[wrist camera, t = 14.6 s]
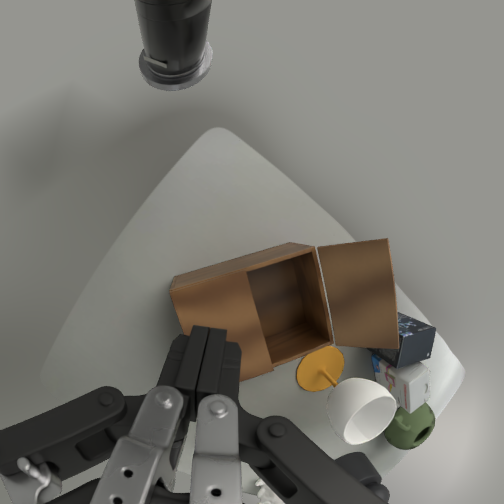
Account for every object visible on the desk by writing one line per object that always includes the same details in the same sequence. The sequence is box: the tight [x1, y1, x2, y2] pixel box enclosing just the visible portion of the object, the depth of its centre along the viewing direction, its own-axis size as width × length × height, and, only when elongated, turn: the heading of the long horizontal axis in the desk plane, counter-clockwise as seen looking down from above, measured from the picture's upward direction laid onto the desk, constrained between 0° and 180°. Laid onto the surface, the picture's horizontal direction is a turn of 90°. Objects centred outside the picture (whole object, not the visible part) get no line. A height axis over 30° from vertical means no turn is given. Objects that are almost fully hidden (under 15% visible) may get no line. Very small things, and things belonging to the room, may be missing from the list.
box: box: [367, 312, 436, 369], centre depth 40 cm, size 8×6×11 cm
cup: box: [296, 346, 397, 445], centre depth 35 cm, size 9×9×16 cm
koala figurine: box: [255, 478, 285, 504], centre depth 38 cm, size 8×7×12 cm
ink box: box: [371, 354, 430, 414], centre depth 41 cm, size 9×5×12 cm, turn 23°
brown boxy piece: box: [169, 242, 334, 382], centre depth 35 cm, size 13×17×9 cm
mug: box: [385, 402, 435, 450], centre depth 46 cm, size 16×13×9 cm
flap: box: [317, 238, 399, 349], centre depth 29 cm, size 13×8×1 cm
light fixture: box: [335, 452, 390, 502], centre depth 41 cm, size 13×16×14 cm
